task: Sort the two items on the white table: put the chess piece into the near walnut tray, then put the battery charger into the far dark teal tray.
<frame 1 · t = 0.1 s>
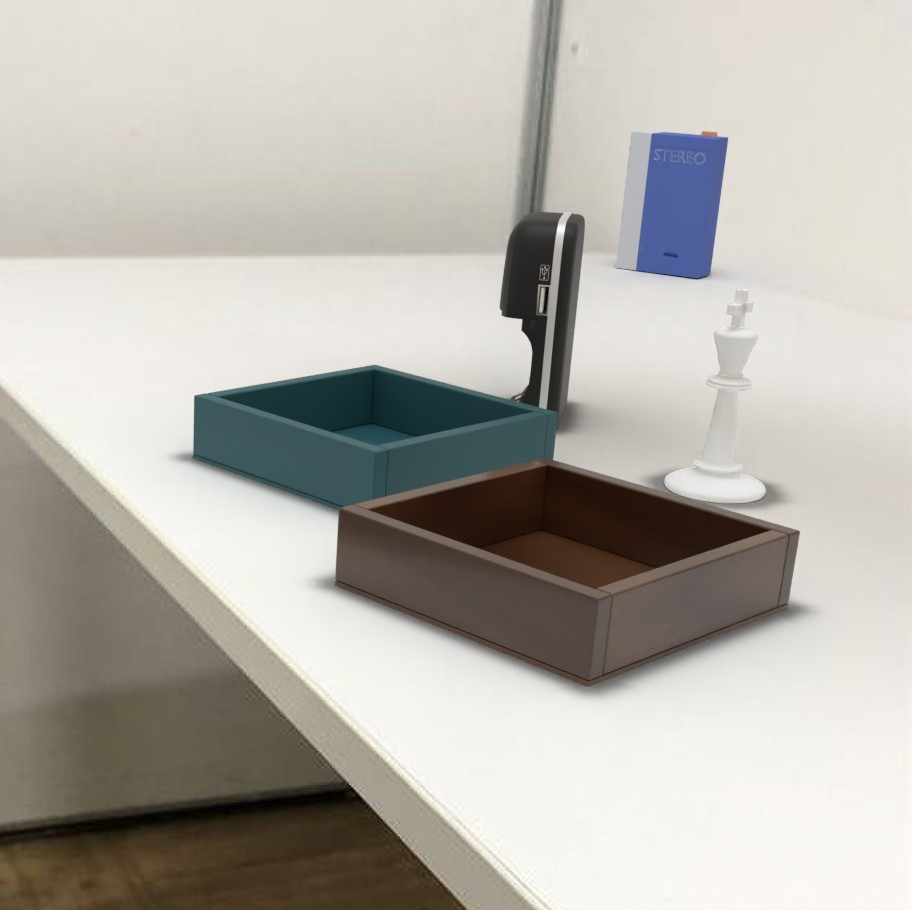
chess piece: (712, 501, 79), on the table
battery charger: (527, 424, 91), on the table
walnut tray: (558, 605, 64), on the table
walkman: (662, 274, 143), on the table
teal tray: (371, 474, 80), on the table
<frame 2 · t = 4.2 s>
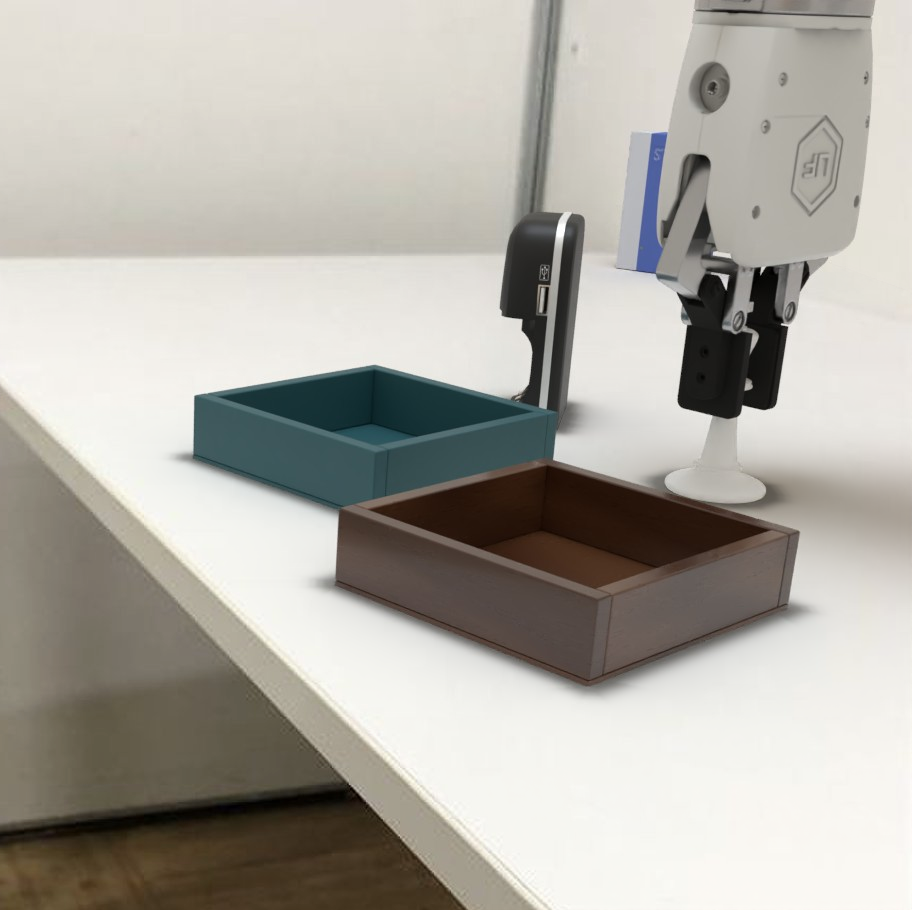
hand: (726, 405, 77), 5 cm above the table, tool pointing down, fingers closed on chess piece
chess piece: (712, 501, 79), on the table, touching gripper
everything else where it was.
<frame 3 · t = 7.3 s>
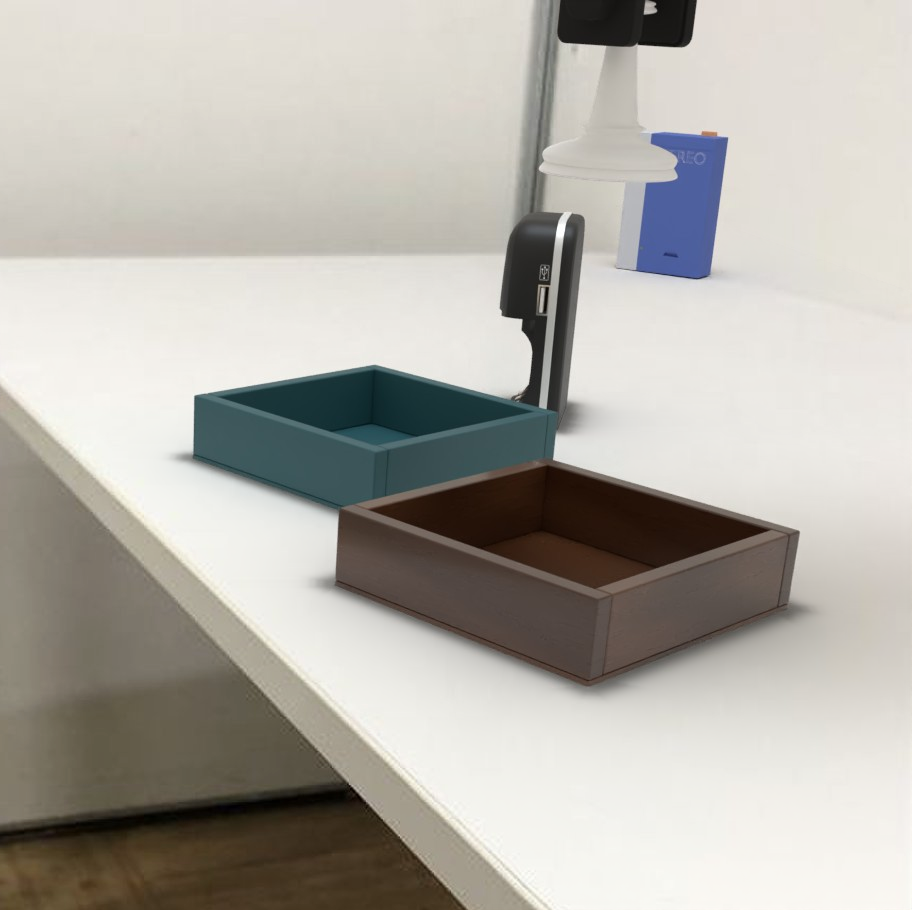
hand: (624, 40, 56), 21 cm above the table, tool pointing down, fingers closed on chess piece
chess piece: (606, 180, 58), point 16 cm above the table, touching gripper
everything else where it was.
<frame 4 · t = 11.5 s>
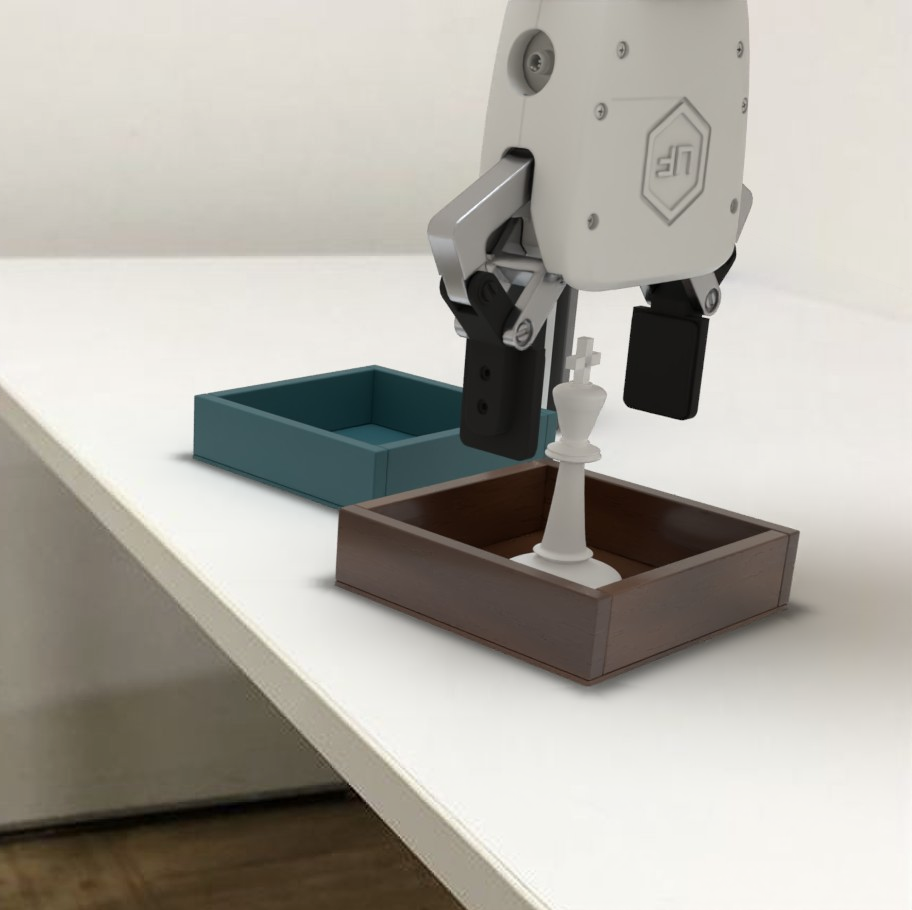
hand: (581, 431, 61), 7 cm above the table, tool pointing down, fingers open, 9 cm apart
chess piece: (558, 595, 64), resting on walnut tray
everything else where it was.
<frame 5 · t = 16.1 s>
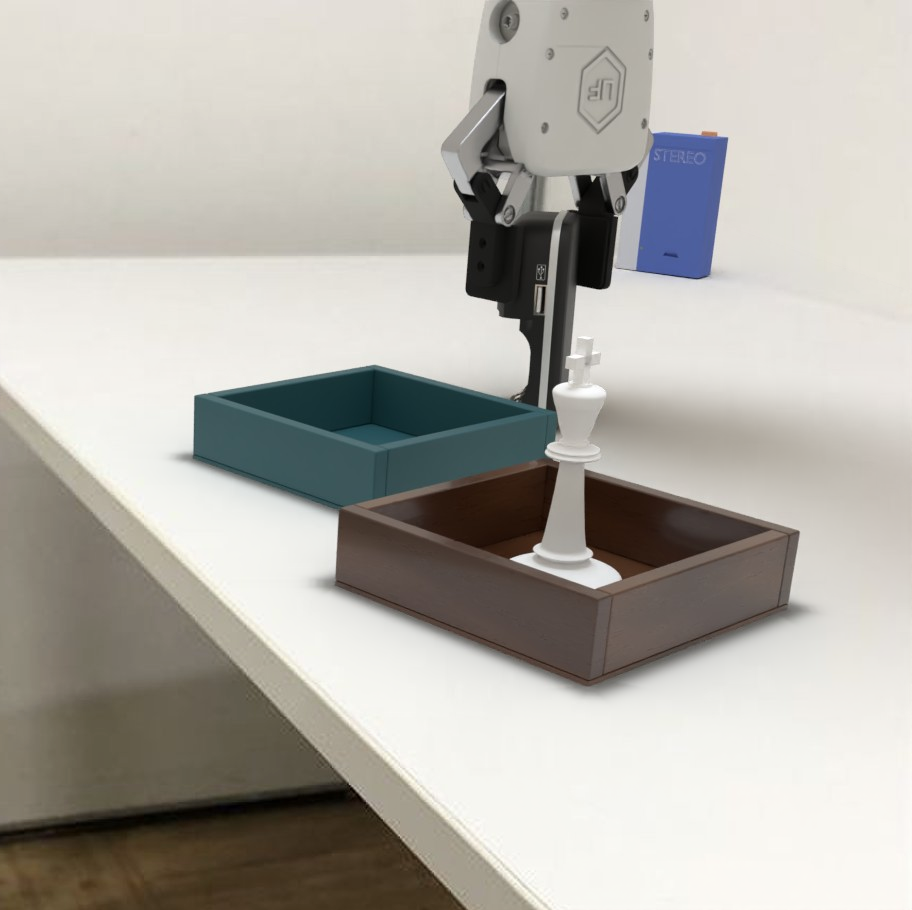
hand: (538, 290, 89), 7 cm above the table, tool pointing down, fingers closed on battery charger, 7 cm apart
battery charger: (527, 424, 91), on the table, touching gripper
everything else where it was.
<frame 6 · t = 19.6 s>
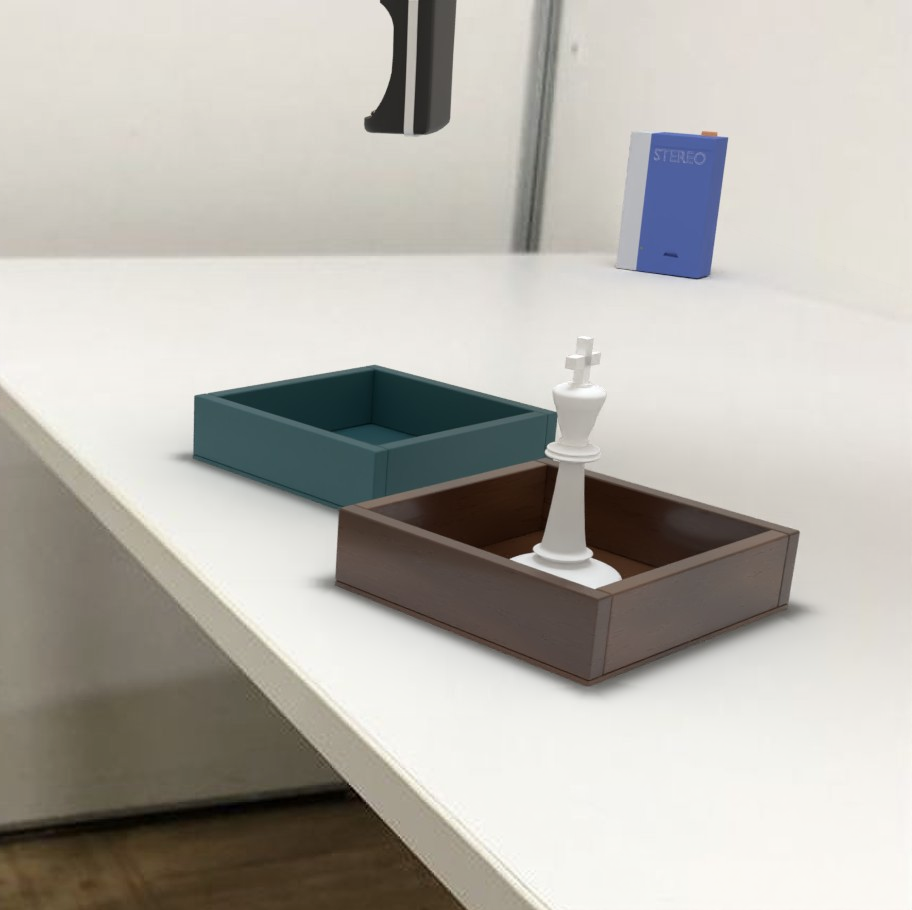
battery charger: (398, 137, 75), point 16 cm above the table, touching gripper
everything else where it was.
when the fingers open (8 cm above the table, at t = 23.2 s): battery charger stays where it is, resting on teal tray.
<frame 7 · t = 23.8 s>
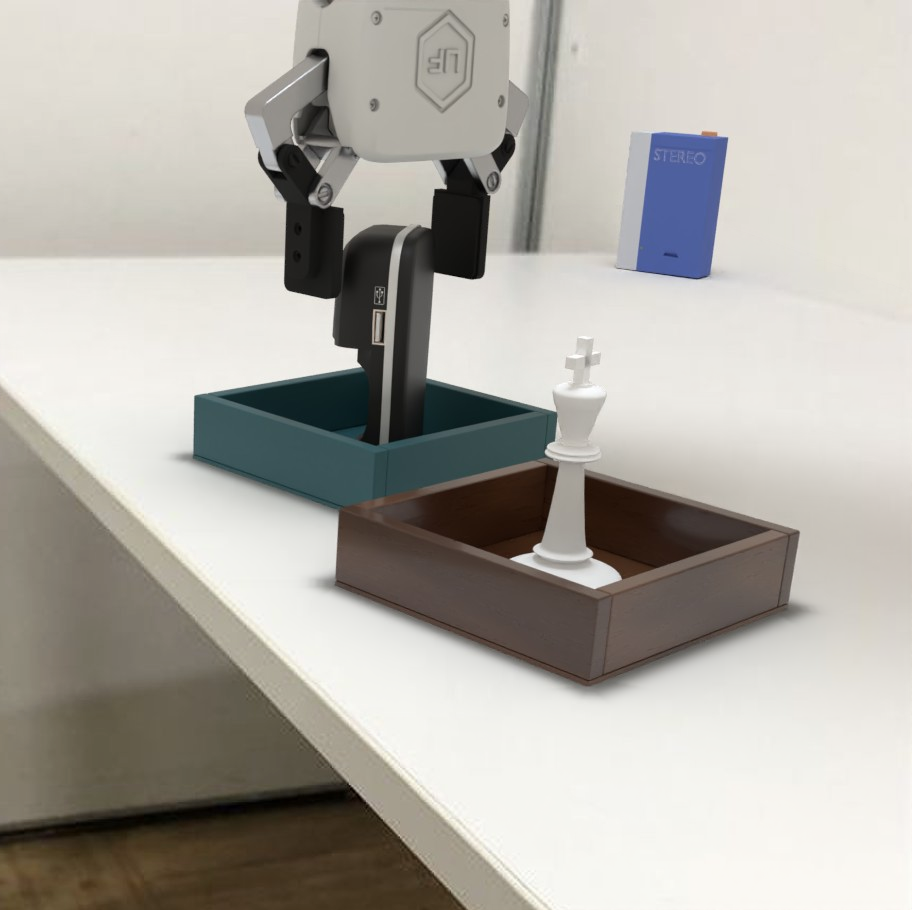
hand: (386, 284, 77), 9 cm above the table, tool pointing down, fingers open, 9 cm apart
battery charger: (373, 467, 80), resting on teal tray
everything else where it was.
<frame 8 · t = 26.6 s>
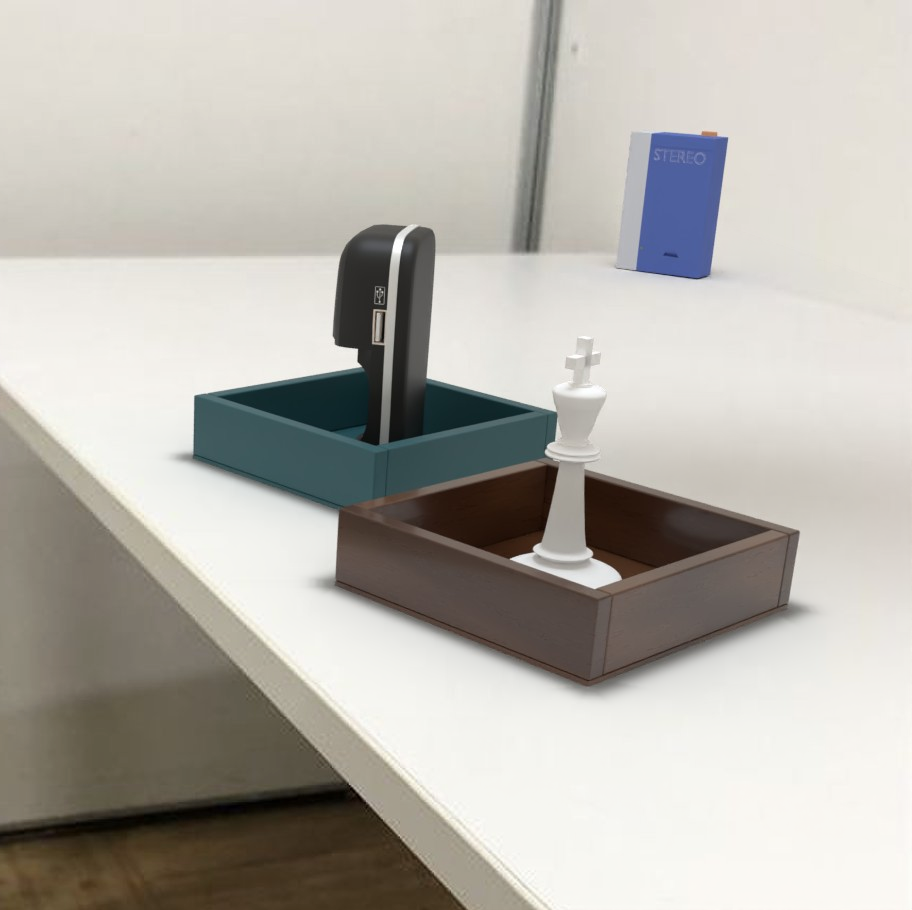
nothing on the table moved.
at the end: chess piece inside the target area in the walnut tray (0.1 cm from its centre), point 0.4 cm above the walnut tray's base; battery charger inside the target area in the teal tray (0.1 cm from its centre), point 0.4 cm above the teal tray's base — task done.
